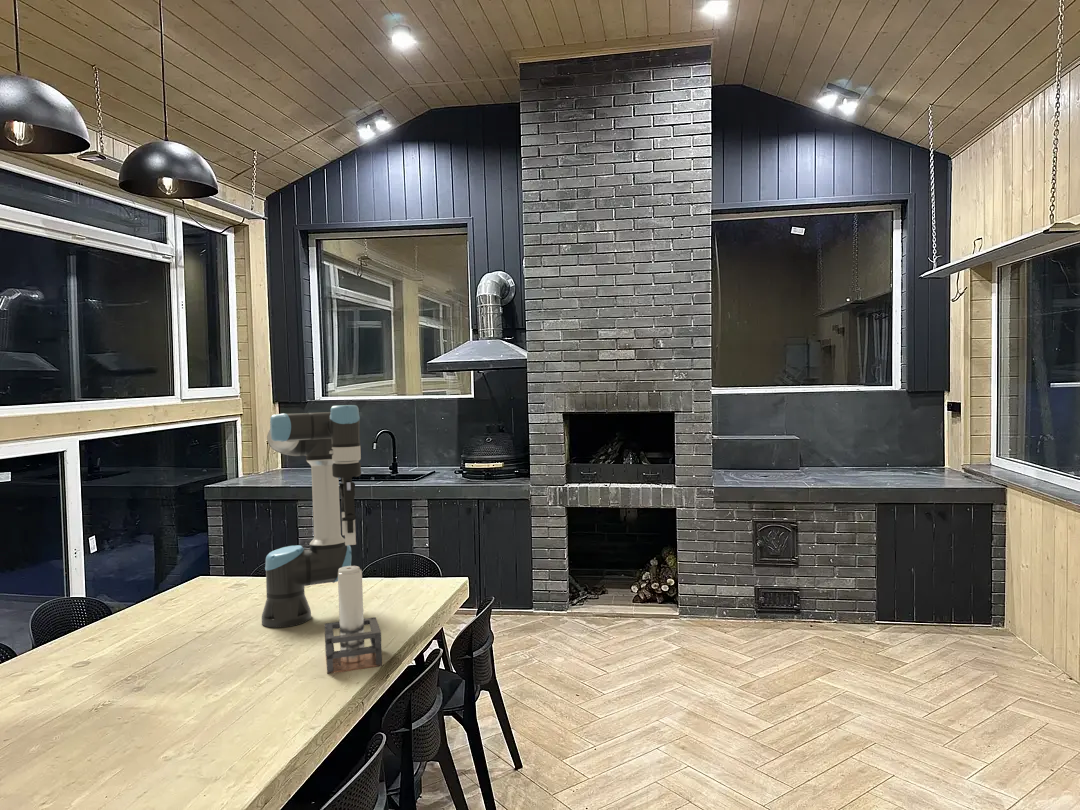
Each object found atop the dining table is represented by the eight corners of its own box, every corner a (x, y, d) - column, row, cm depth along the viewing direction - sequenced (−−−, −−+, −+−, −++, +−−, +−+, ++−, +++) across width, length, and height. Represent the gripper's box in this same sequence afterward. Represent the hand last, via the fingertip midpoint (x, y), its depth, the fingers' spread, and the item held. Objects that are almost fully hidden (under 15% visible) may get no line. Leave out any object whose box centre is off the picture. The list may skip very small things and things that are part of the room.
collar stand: (325, 655, 198) (324, 623, 198) (376, 648, 203) (375, 617, 202) (327, 674, 185) (326, 639, 185) (382, 666, 189) (380, 632, 189)
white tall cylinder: (358, 663, 190) (355, 570, 189) (336, 662, 191) (332, 570, 191) (369, 654, 196) (366, 565, 196) (347, 653, 198) (344, 564, 197)
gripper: (330, 458, 203) (332, 532, 204) (334, 467, 180) (336, 550, 180) (357, 457, 206) (359, 529, 206) (364, 465, 182) (367, 547, 183)
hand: (348, 539), depth 193 cm, fingers open, 13 cm apart
